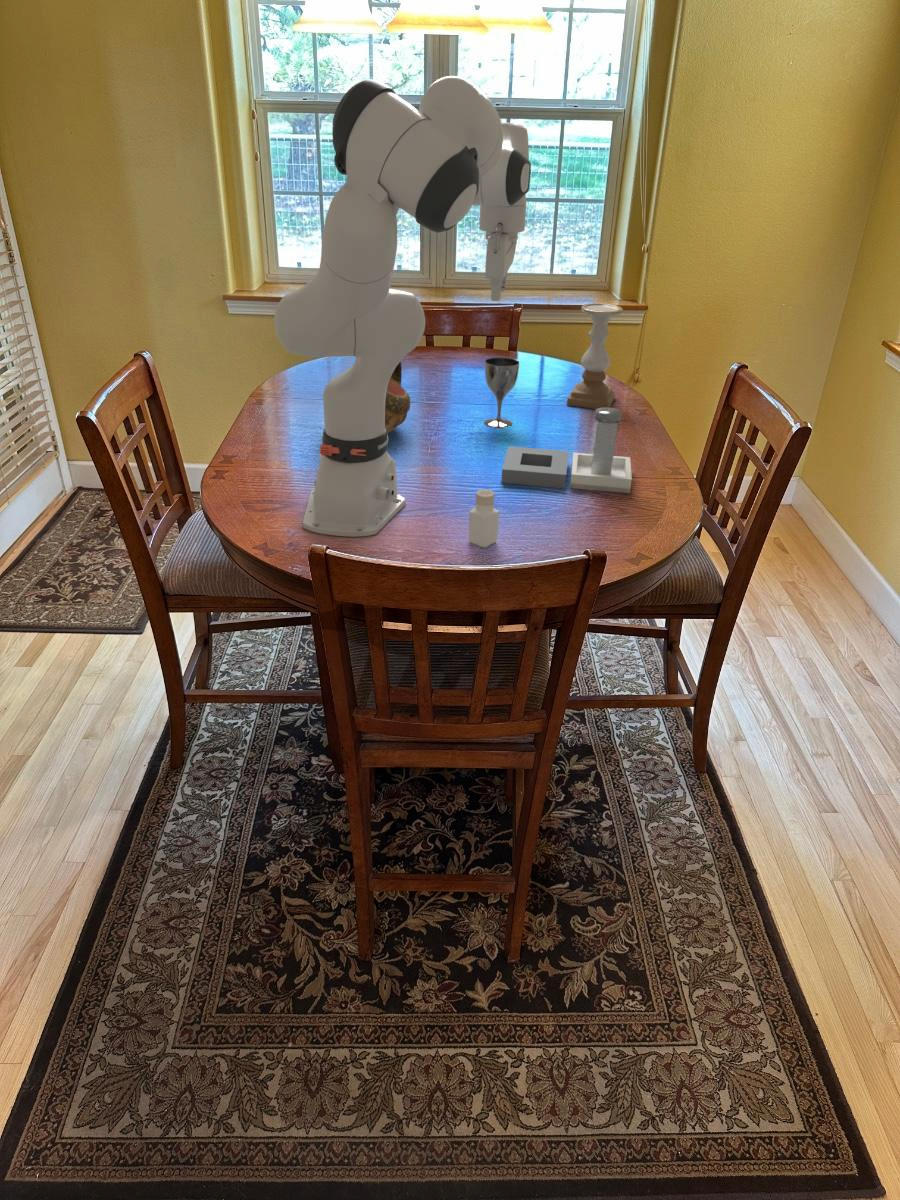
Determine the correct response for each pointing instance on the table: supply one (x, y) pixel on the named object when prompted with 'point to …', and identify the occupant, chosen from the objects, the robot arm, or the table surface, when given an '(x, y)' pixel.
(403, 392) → the ceramic vessel
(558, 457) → the holder block
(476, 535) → the pepper shaker
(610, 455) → the pin
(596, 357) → the candle holder
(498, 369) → the wine glass
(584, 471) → the tray
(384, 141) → the robot arm
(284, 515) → the table surface
